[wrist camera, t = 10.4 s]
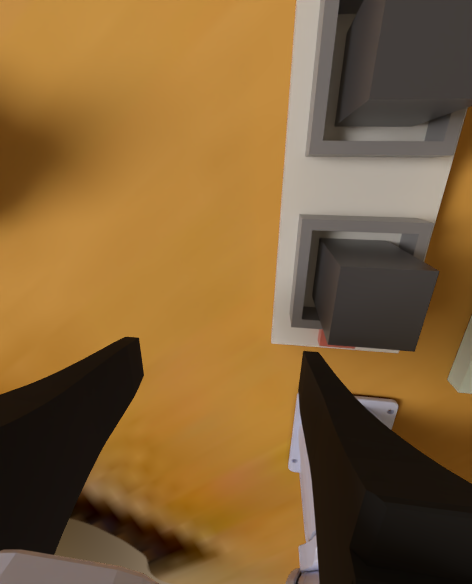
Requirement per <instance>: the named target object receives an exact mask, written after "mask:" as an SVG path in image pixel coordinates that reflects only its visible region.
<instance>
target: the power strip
mask: <svg viewBox="0 0 472 584" xmlns="http://www.w3.org/2000/svg"><path fill="white" fill-rule="evenodd" d="M363 1H364V0H296V11H295V24H294V38H293V51H292V65H291V78H290V92H289V105H288V118H287V132H286V145H285V159H284V172H283V186H282V199H281V213H280V226H279V240H278V253H277V267H276V280H275V294H274V307H273V321H272V334H271V343H274V344H287V345H299V346H312V347H325V348H338V349H350V350H363V351H376V352H389V353H398V352H399V350H401V351H414V352H415V349H416V345H417V342H418V339H419V336H420V332H421V329H422V326H423V323H424V319H425V316H426V313H427V310H428V306H429V303H430V300H431V297H432V294H433V290H434V287H435V284H436V281H437V277H438V274H439V271H438V270H437V269H435V268H433V267H431V266H430V265H428V264H426V263H425V262H424V260H425V257H426V253H427V250H428V246H429V243H430V239H431V236H432V232H433V229H434V225H435V222H436V218H437V215H438V211H439V207H440V204H441V200H442V197H443V193H444V190H445V186H446V183H447V179H448V176H449V172H450V169H451V165H452V161H453V158H454V154H455V151H456V147H457V144H458V140H459V137H460V133H461V130H462V126H463V123H464V119H465V116H466V112H467V108H468V107H467V108H464V109H461V110H458V111H456V112H453V113H450V114H447V115H444V116H441V117H438V118H435V119H432V120H430V121H427V122H424V123H421V124H418V125H415V126H412V127H334V126H335V118H336V110H337V103H338V95H339V88H340V80H341V73H342V65H343V57H344V50H345V42H346V35H347V31H348V29H349V28H350V26H351V24H352V22H353V20H354V18H355V16H356V14H357V12H358V10H359V8H360V6H361V5H362V3H363Z"/></svg>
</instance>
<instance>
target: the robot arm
mask: <svg viewBox="0 0 472 584" xmlns="http://www.w3.org/2000/svg"><path fill="white" fill-rule="evenodd" d="M143 376H144V372H143V365H142V358H141V350H140V343H139V338H134V337H124V338H122V339H120V340H118V341H116V342H114V343H112V344H110V345H108V346H107V347H105V348H103V349H101V350H99V351H98V352H96V353H94V354H92V355H90V356H88V357H86V358H85V359H83V360H81V361H79V362H77V363H75V364H73V365H71V366H69V367H67V368H65V369H63V370H61V371H59V372H57V373H55V374H52V375H50V376H48V377H46V378H43V379H41V380H38V381H36V382H34V383H31V384H29V385H26V386H23V387H21V388H18V389H15V390H12V391H9V392H7V393H4V394H1V395H0V584H159V583H157V582H156V581H154V580H153V579H151V578H150V577H148V576H147V575H145V574H144V573H141V572H137V571H134V570H131V569H128V568H125V567H121V566H116V565H109V564H103V563H98V562H92V561H85V560H80V559H74V558H68V557H62V556H57V555H54V553H55V551H56V548H57V546H58V544H59V541H60V538H61V536H62V534H63V531H64V529H65V527H66V525H67V522H68V520H69V518H70V515H71V513H72V511H73V508H74V506H75V504H76V502H77V499H78V497H79V495H80V493H81V491H82V489H83V487H84V484H85V482H86V480H87V478H88V476H89V474H90V472H91V470H92V468H93V466H94V464H95V462H96V460H97V458H98V456H99V454H100V452H101V450H102V448H103V447H104V445H105V443H106V441H107V440H108V438H109V436H110V435H111V433H112V432H113V430H114V428H115V427H116V425H117V424H118V422H119V421H120V419H121V417H122V416H123V414H124V413H125V411H126V409H127V408H128V406H129V404H130V403H131V401H132V399H133V398H134V396H135V394H136V392H137V390H138V388H139V386H140V383H141V381H142V379H143ZM298 392H299V393H298V394H297V400H296V408H295V415H294V423H293V431H292V439H291V447H290V455H289V463H288V468H289V470H290V471H293V472H299V473H300V484H301V495H302V506H303V518H304V529H305V538H306V543H305V544H302V545H300V546H299V559H300V568H296V569H295V570H293V571H292V572H291V573H290V574H289V576H288V578H287V581H286V584H472V484H471V483H469V482H468V481H466V480H464V479H463V478H461V477H459V476H457V475H456V474H454V473H452V472H451V471H449V470H447V469H446V468H444V467H443V466H441V465H439V464H438V463H436V462H435V461H433V460H432V459H430V458H429V457H427V456H426V455H424V454H423V453H421V452H420V451H419V450H417V449H416V448H414V447H413V446H412V445H410V444H409V443H407V442H406V441H405V440H403V439H402V438H401V437H400V436H398V435H397V434H396V433H394V432H393V431H392V426H393V423H394V420H395V417H396V413H397V410H398V404H397V402H396V401H395V400H393V399H383V398H373V397H362V396H354V395H353V394H352V393H351V392H350V391H349V390H348V389H347V388H346V386H345V385H344V384H343V383H342V382H341V381H340V379H339V378H338V377H337V376H336V374H335V373H334V372H333V371H332V369H331V368H330V367H329V365H328V364H327V363H326V362H325V360H324V359H323V357H322V356H321V355H320V354H319V352H309V351H303V358H302V366H301V373H300V381H299V389H298ZM388 410H390V411H388Z"/></svg>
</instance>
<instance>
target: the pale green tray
mask: <svg viewBox="0 0 472 584" xmlns="http://www.w3.org/2000/svg"><path fill="white" fill-rule="evenodd" d="M447 380H448V381H449V382H450V383H451V385H452V386H453V387H454V388H455V389H456V390H457V392H459V393H470V394H472V316H471V318H470V321H469V324H468V326H467V329H466V332H465V334H464V337H463V339H462V342H461V345H460V347H459V350H458V353H457V355H456V358H455V361H454V363H453V366H452V368H451V371H450V374H449V376H448V379H447Z"/></svg>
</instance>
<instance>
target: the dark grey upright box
mask: <svg viewBox="0 0 472 584" xmlns="http://www.w3.org/2000/svg"><path fill="white" fill-rule="evenodd" d="M470 106H472V0H364V1H363V3H362V5H361V6H360V8H359V10H358V12H357V14H356V16H355V18H354V20H353V22H352V24H351V26H350V28H349V29H348V31H347V35H346V42H345V50H344V57H343V65H342V73H341V80H340V88H339V95H338V103H337V110H336V118H335V126H334V127H412V126H415V125H418V124H421V123H424V122H427V121H430V120H432V119H435V118H438V117H441V116H444V115H447V114H450V113H453V112H456V111H458V110H461V109H464V108H467V107H470Z"/></svg>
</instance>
